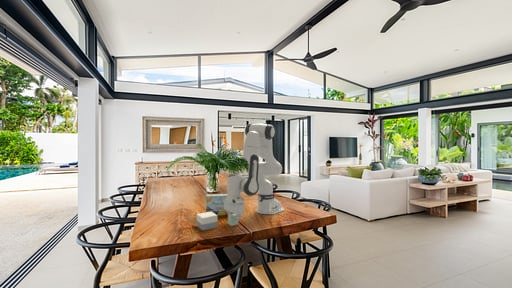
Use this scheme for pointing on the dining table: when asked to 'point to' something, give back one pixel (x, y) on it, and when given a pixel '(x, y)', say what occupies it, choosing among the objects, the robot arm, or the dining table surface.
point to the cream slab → (206, 218)
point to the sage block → (232, 219)
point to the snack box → (216, 204)
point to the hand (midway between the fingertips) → (233, 219)
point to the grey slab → (206, 225)
